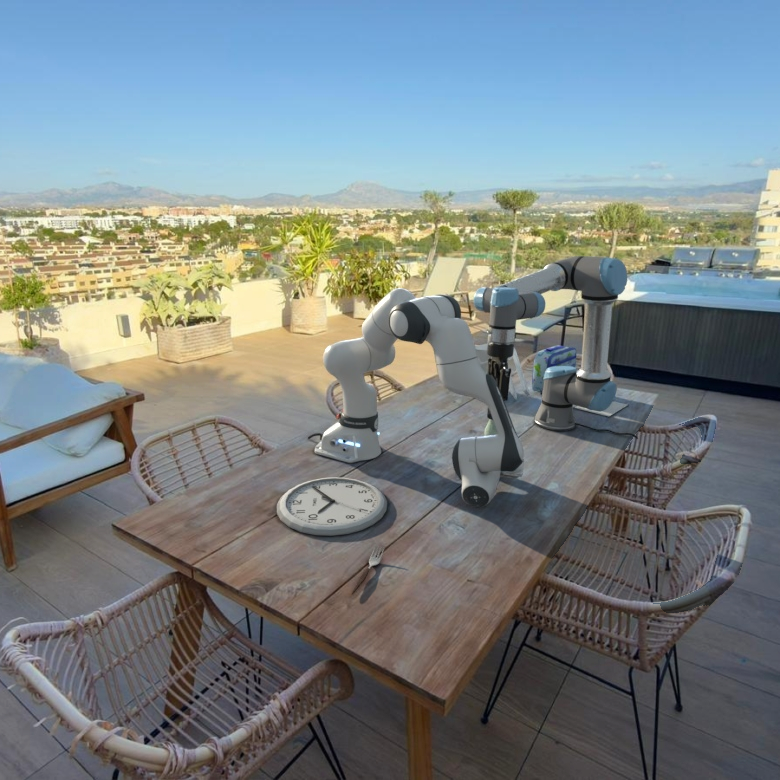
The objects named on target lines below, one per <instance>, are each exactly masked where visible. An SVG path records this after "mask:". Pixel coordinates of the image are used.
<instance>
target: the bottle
mask: <svg viewBox="0 0 780 780" xmlns="http://www.w3.org/2000/svg"><path fill="white" fill-rule="evenodd" d="M495 434H498V432H497V429H496V426H495V424H494V421H493V420H491V419H489V418H488V422H487V424H486V426H485V427H484V433H483V436H487V435H495Z"/></svg>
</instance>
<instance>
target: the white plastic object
mask: <svg viewBox="0 0 780 780" xmlns="http://www.w3.org/2000/svg"><path fill="white" fill-rule="evenodd" d="M487 346H488V342H487V343H483V344H479V345H475V347H476V352H477V357H478V361H479V363H480V365H481V367H482V369H483V370H484V371H485V372H486V373H487V374H488V358H492V356H489V355H488V354H487ZM510 360H513V363H514V366H515V369H516V372H517V376H518V380H519V382H520V385H521V389H522V391H523V393H524V395H525V396H526V397H528V396H531V395H530V390H529V388H528V387H529V386H528V384H527V381H526V378H525V375H524V371H523V369H522V368H523V367H522V366H521V362H520V359H519V355H518V352H517V349H516V347H514V351H513V356H512V357H509V358H507V362H508V361H510ZM516 391H517V390H516V388H515V385H514V381H513V378H512V375H511V374H510V381H509V393H510V394H511V395H512V397H513V398H514V399H515V400H517V392H516Z"/></svg>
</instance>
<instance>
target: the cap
mask: <svg viewBox="0 0 780 780" xmlns="http://www.w3.org/2000/svg"><path fill="white" fill-rule="evenodd" d="M486 417H487V419H488V420H489V419H491V420H493V418H492V415H491V413H490V411H488V410H487V414H486Z"/></svg>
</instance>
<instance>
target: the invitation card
mask: <svg viewBox="0 0 780 780" xmlns="http://www.w3.org/2000/svg"><path fill="white" fill-rule="evenodd" d="M628 406H629V404H627V403H623V402H618V401H614V400H613V401H612V403H611V405H610V406H609V407H608V408H607V409H606V410H604V411H600V412H599V411H594V410H589V409H587V408H584V407H580V406H577V405H575V406H574V407H573V409H575V410H581V411H584V412H587V413H593V414H596V415H600V416H604V417H608V418H609V417H611V416H613V415H614V414H616V413H617V412H619V411H621V410H623V409H624V408H626V407H628Z"/></svg>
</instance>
